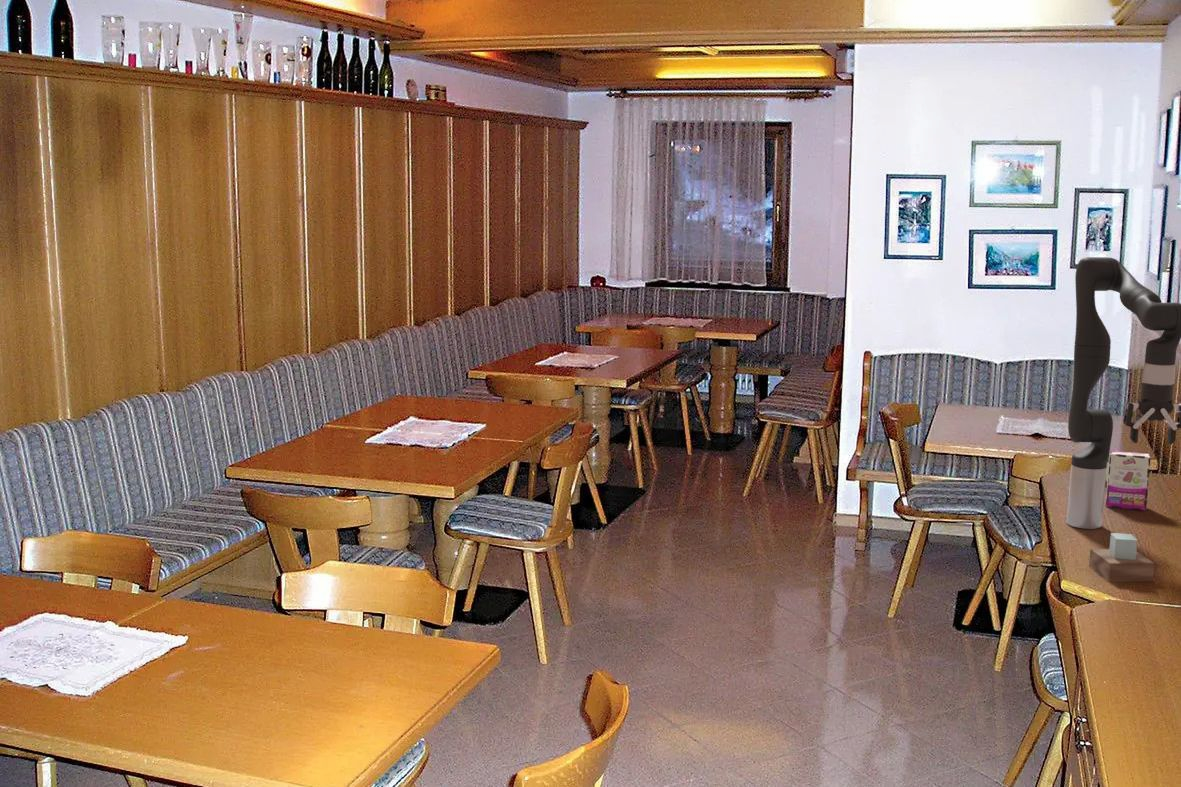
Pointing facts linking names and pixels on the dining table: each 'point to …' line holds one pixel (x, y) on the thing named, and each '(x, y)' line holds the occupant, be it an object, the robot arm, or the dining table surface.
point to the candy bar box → (1128, 480)
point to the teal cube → (1123, 546)
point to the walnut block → (1121, 566)
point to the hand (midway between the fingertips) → (1152, 443)
